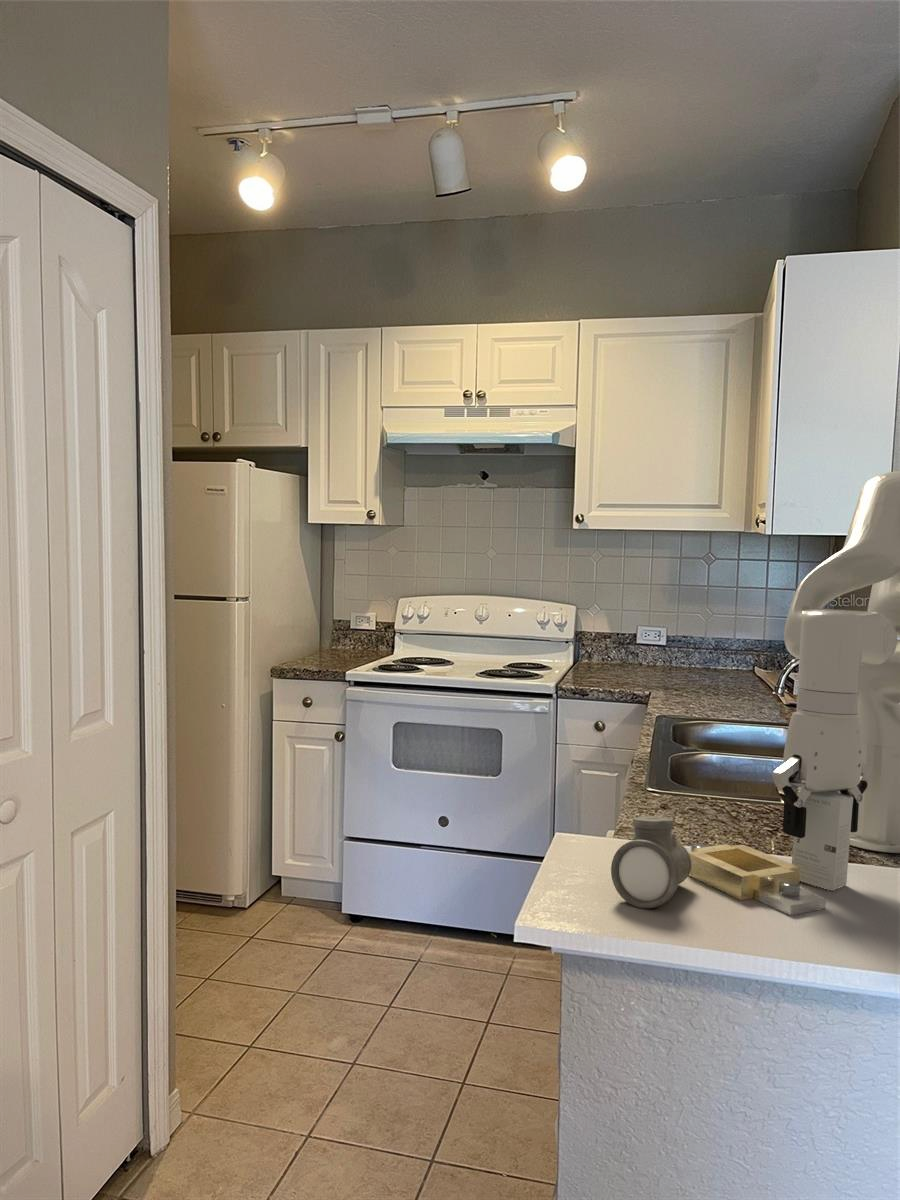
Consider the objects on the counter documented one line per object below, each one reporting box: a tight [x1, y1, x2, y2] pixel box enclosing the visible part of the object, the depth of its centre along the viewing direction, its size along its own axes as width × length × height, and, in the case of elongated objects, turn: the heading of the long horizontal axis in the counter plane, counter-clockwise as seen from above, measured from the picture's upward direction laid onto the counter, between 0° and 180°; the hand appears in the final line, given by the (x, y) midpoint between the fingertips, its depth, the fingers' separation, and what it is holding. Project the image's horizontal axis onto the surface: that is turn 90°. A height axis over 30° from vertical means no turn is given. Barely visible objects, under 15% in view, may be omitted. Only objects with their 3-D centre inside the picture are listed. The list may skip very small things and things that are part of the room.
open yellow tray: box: [685, 843, 827, 916], centre depth 117 cm, size 10×22×3 cm, turn 26°
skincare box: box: [791, 790, 853, 892], centre depth 117 cm, size 6×4×12 cm
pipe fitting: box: [610, 815, 691, 910], centre depth 111 cm, size 12×8×10 cm
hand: (820, 832), depth 117 cm, fingers open, 9 cm apart
